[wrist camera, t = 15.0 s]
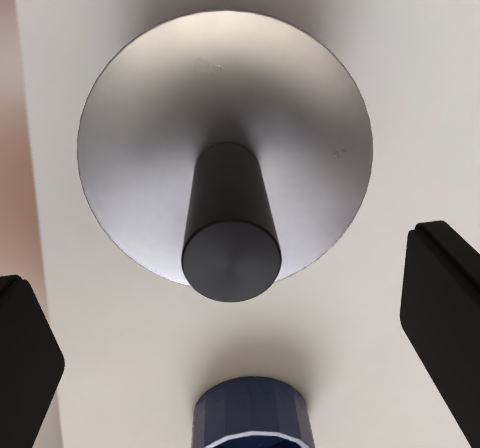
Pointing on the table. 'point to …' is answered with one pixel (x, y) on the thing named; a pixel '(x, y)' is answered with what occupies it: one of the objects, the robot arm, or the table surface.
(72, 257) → the table surface
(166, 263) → the lid
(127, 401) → the table surface
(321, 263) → the table surface
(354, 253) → the table surface
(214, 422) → the blue faceted bowl
